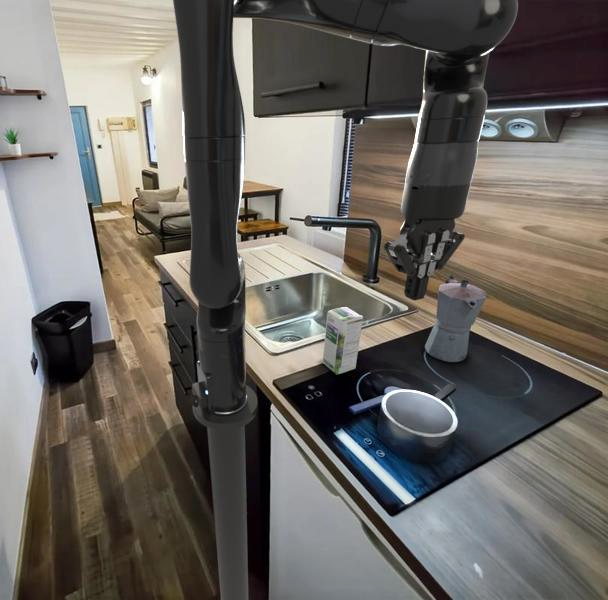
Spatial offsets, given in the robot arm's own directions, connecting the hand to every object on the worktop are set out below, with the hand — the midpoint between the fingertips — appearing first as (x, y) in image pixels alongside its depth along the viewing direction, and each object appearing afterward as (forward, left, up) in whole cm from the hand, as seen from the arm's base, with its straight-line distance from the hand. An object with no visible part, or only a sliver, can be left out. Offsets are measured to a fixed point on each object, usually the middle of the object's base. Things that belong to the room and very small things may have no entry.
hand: (413, 297), depth 55 cm
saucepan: (+8, -1, -29) cm, 30 cm away
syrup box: (+7, +22, -29) cm, 37 cm away
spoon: (+6, +8, -29) cm, 31 cm away
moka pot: (+34, +16, -29) cm, 48 cm away
